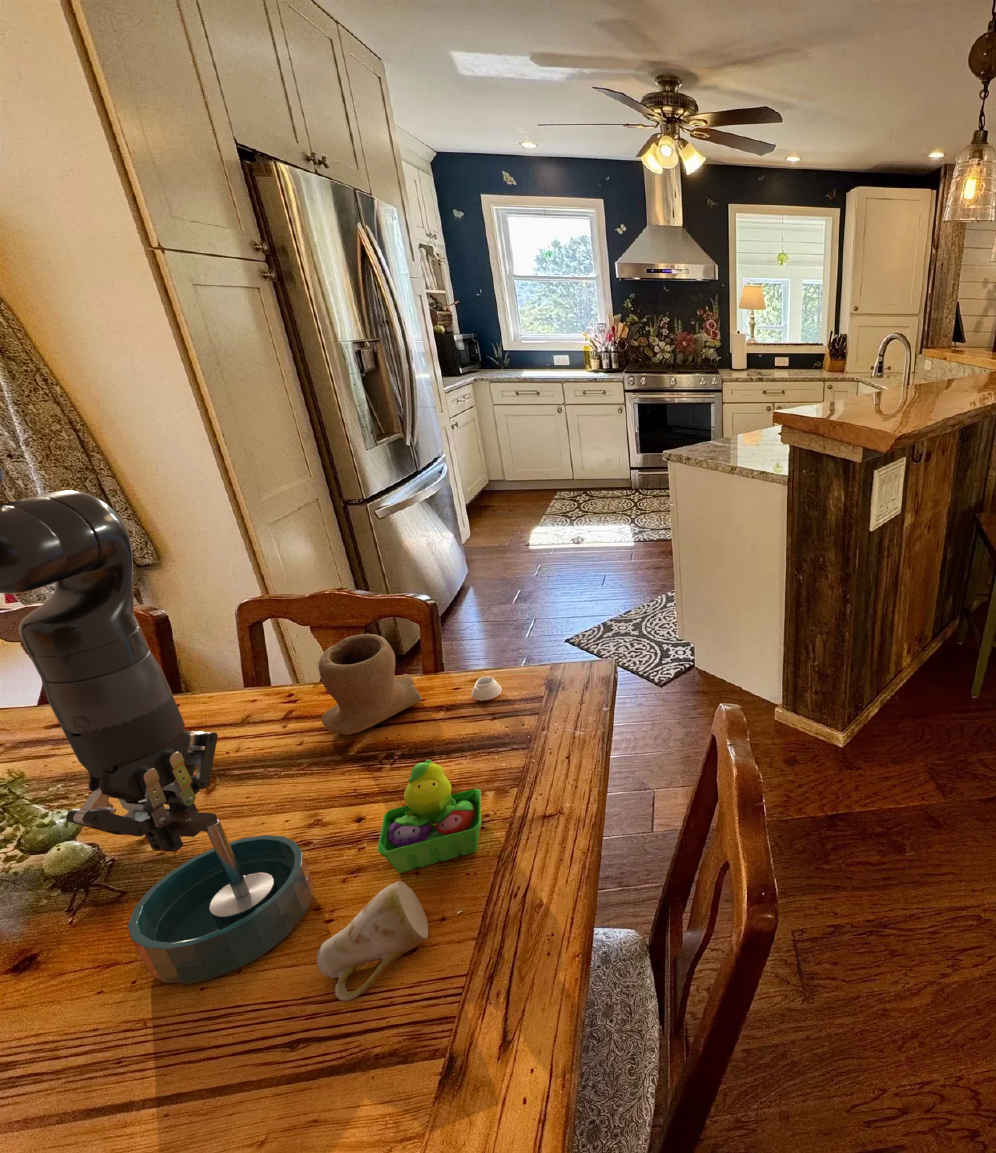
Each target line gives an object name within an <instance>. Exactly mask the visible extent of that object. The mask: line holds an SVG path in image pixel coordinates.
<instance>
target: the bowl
mask: <svg viewBox="0 0 996 1153" xmlns="http://www.w3.org/2000/svg"><path fill="white" fill-rule="evenodd" d="M228 842H229V841H228ZM229 844H230V846H231V849H232V851H233V853H234V856H235V858H236V860H237V863H238V865H239V868H240V870H241V872H242V875H243V876H246V875H249V874H254V873H267V874H270V875H271V876H272V877H273V878H274V880H275V883H276V885H277V888H278V891H277V892H276V893H275V894H274V895H273V897H272V898H271V899H270V900H268V901H267V902H266V903H264V904H263V905H261V906H260V907H259V908H257V909H256V910H255V911H253V912H252V913H251V914H249V915H248V916H246V917H244V918H242V919H241V920H239V921H237V922H235V923H233V924H231V925H229V926H228V927H226V928H224V929H222V930H220V929H218V928H217V926H216V924H215V922H214V919H213V917H212V915H211V913H210V911H209V905H210V902H211V900H212V899H213V897H214V896H215V895H216V894H217V893H218V892H219V891H220V890H221V889H222V888H224V887H225V886H226V885H228V884H229V882H228V879H227V877H226V875H225V872H224V870H223V868H222V866H221V863H220V861H219V859H218V856H217V854H216V852H215V850H214V847H213V848H211V849H209V850H206V851H204V852H202V853H200V854H198V855H196V856H193V857H191V858H189V859H188V860H187V861H185V862H184V863H182V864H180V865H179V866H177V867H176V868H174V869H172V870H171V871H170V872H168V873H167V874H165V875H164V876H163V877H162V878H161V879H159V880H158V881H157V882H156V883H155V884H154V885H153V886H152V887H150V888H149V889H148V890H147V891H146V893H145V894H144V895H143V896H142V898H141V899H140V900H139V901H138V903H137V904H136V905H135V906H134V908H133V911H132V913H131V916H130V918H129V921H128V923H127V928H128V932H129V937H130V940H131V942H132V943H133V945H134V948H135V949H136V951H137V952H138V954H139V956H140V958H141V960H142V962H143V964H144V966H145V967H146V969H147V971H148V973H149V975H151V976H153V977H154V978H156V979H157V980H159V981H160V982H161V983H168V984H177V985H178V984H180V985H186V984H187V985H188V984H192V983H197V982H203V981H209V980H212V979H215V978H218V977H222V976H224V975H228V974H230V973H232V972H235V971H237V970H240V969H241V968H244V967H245V966H247V965H249V964H251V963H253V962H254V961H256V960H257V959H259V958H261V957H262V956H264V955H265V954H266V953H268V952H270V951H271V950H272V949H273V948H274V947H276V946H277V945H279V943H281V942H282V941H283V940H284V939H285V938H286V937H287V936H288V935H289V934H290V933H291V932H292V931H293V930H294V928H296V926H297V925H298V924H299V923H300V921H301V920H302V919H303V918H304V917H305V915H306V913H307V911H308V909H309V907H310V905H311V903H312V902H313V899H314V888H315V887H314V886H315V884H314V882H313V879H312V875H311V873H310V870H309V868H308V864H307V862H306V859H305V855H304V854H303V851H302V849H301V848H300V846H299V844H298V843H297V842H296V841H294V840H292V839H290V838H289V837H286V836H283V835H271V834H261V835H254V836H248V837H242V838H240V839H235V840H233V841H230V842H229Z"/></svg>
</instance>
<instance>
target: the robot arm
mask: <svg viewBox="0 0 996 1153" xmlns="http://www.w3.org/2000/svg"><path fill="white" fill-rule="evenodd" d="M4 481H5V472H4V470H3V467H2V466H1V465H0V488H1V487H2V486H3V483H4ZM130 536H131V535H130V533H129V530H128V528H127V526H126V525H125V522H124V521H123V519H122V518H121V517H120V515H119V514H118V513H117V511H115V510H114V509H113V508H112V507H111V506H110V505H109V504H108V503H106V502H105V501H103V500H102V499H100V498H98V497H96V496H94V495H92V494H89V493H86V492H83V491H78V490H58V491H52V492H48V493H44V494H39V495H38V494H37V495H34V496H31V497H27V498H26V497H25V498H21V499H18V500H13V501H9V502H5V503H1V504H0V594H6V595H16V594H23V593H28V592H32V591H36V590H38V589H41V588H43V587H47V586H49V585H52V584H54V583H55V584H54V591H53V594H52V595H51V596H50V597H49V598H48V599H47V600H46V601H45V602H44V603H42V604H41V605H39V606H38V607H37V608H35V609H34V610H32V611H31V612H29V613H28V614H27V615H26V616H24V617H23V618H22V619H21V621H20V623H19V624H18V634H19V637H20V640H21V642H22V644H23V646H24V648H25V650H26V652H27V654H28V656H29V658H30V659H31V662H32V663H33V666H34V668H35V670H36V671H37V674H38V675H39V677H40V679H41V682H42V684H43V687H44V691H45V695H46V699H47V702H48V704H49V706H50V708H51V710H52V712H53V714H54V717H55V718H56V720H57V722H58V724H59V726H60V728H61V730H62V732H63V733H64V735H65V737H66V740H67V741H68V743H69V744H70V747H71V749H72V751H73V753H74V755H75V757H76V759H77V761H78V762H79V763H80V764H81V766H83V768H84V769H86V771H87V772H88V777H89V780H88V790H89V791H90V794H89V795H88V797H87V799H86V800H85V802H84V803H83V804H82V805H81V807H80V808H77V807H76V808H75V807H74V808H72V809H70V810H69V811H68V812H67V814H66V815H65V820H66V822H67V823H70V824H75V825H79V826H82V827H86V828H89V829H93V830H96V831H100V832H104V833H108V834H112V835H114V836H115V835H116V836H133V837H144V836H145V838H146V840H147V842H148V844H149V846H150V848H151V849H152V850H154V851H157V852H168V853H169V852H170V853H176V852H177V851H179V850H180V849H182V848H183V847H184V843H183V840H182V838H181V837H185V838H195V837H196V836H197V835H199V834H200V833H201V832H202V831H188V830H176V828H175V826H174V824H173V822H172V820H169V817H168V814H167V812H166V810H173V811H188V812H199V810H198V808H197V805H196V804H195V802H196V799H197V796H196V795H197V794H198V793H199V791H201V790H203V789H204V790H205V789H207V787H208V786H209V784H210V781H211V780H210V779H211V774H212V769H213V765H214V760H215V753H216V749H217V744H218V738H219V735H218V733H217V732H215V731H214V732H213V731H199V730H191V731H187V730H186V723H185V721H184V718H183V715H182V714H181V711H180V709H179V707H178V704H177V701H176V700H175V697H174V695H173V692H172V690H171V687H170V685H169V683H168V680H167V678H166V675H165V673H164V671H163V669H162V667H161V666H160V664H159V662H158V661H157V659H156V658H155V656H154V655H153V653H152V651H151V649H150V647H149V645H148V642H147V640H146V638H145V634H144V632H143V630H142V628H141V625H140V623H139V620H138V619H137V617H136V615H135V611H134V610H135V609H134V596H135V595H134V594H135V589H134V561H133V560H134V558H133V544H132V539H131V537H130ZM196 767H197V768H196ZM195 769H196V773H195ZM194 774H195V776H194ZM110 798H112V799H117V800H118V801H119V803H120V805H121V807H122V808H123V809H124V810H126V811H128V812H129V813H130V815H131V818H132V819H130V818H127V817H123V816H124V815H119V814H117V813H116V811H117V808H116V807H114V804H112V803H110V801H109V800H110ZM165 805H167V807H165Z"/></svg>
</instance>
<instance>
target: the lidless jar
mask: <svg viewBox="0 0 996 1153" xmlns="http://www.w3.org/2000/svg"><path fill="white" fill-rule="evenodd" d="M502 691H503V688H502V686H501V684H500V683H498V681H497V680H496V679H495V678H494V677H493V676H483V677H480V678H478V679H477V680H476V681H475V683H474V685H473V688H472V690H471V698H472V699H473V700H474V701H479V700H480V701H479V702H483V700H484V702H485V701H490V700H493V699H495V698H497V697H499V695H501V694H502Z"/></svg>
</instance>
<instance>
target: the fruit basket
mask: <svg viewBox="0 0 996 1153" xmlns="http://www.w3.org/2000/svg"><path fill="white" fill-rule="evenodd" d="M451 793H452V784H451V782H450V780H449V778H448V777H447V776H446V773H445V771H444V768H443V767H442V766H441V765H439V764H437V763H435V762H432V760H431V759H426V760H425V761H424V762H418V763H417V764H415V765H414V766H413V768H412V769H411V771H410V777H409V778H408V784H407V786H406V787H405V790H404V793H403V799H404V801H405V803H406V805H403V806H399V807H396V808H391V809H390V810H388V811H387V812H385V813H384V815H383V820H382V823H381V829H380V833H379V834H380V835H379V839H378V843H377V852H378V854H380V856H382V857H383V858H385V859H386V860H387V861H388V862H389V864H390V865H391V866H392V868H394V869H395V870H396V872H397V873H399V874H402V873H403V874H404V873H405V872H410V871H413V870H415V869H416V868H423V867H427V866H431V865H434V864H436V863H438V862H446V861H450V860H452V859H456V858H457V857H460V856H466V855H467V856H468V855H471V854H475V853H476V852H477V851H478V846H479V845H478V844H479V837H480V836H479V835H480V829H481V826H482V791H481V789H478V788H473V789H469V790H464V791H460V792H455V793H452V794H451Z"/></svg>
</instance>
